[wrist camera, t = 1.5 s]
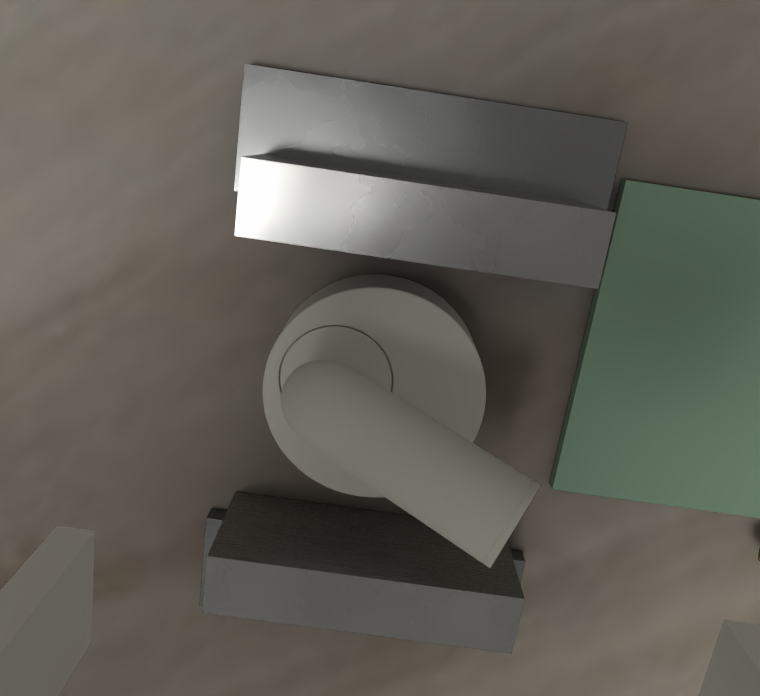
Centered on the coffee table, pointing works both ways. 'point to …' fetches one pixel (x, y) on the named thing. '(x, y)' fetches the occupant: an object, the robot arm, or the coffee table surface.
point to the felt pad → (671, 357)
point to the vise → (414, 244)
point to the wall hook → (393, 409)
